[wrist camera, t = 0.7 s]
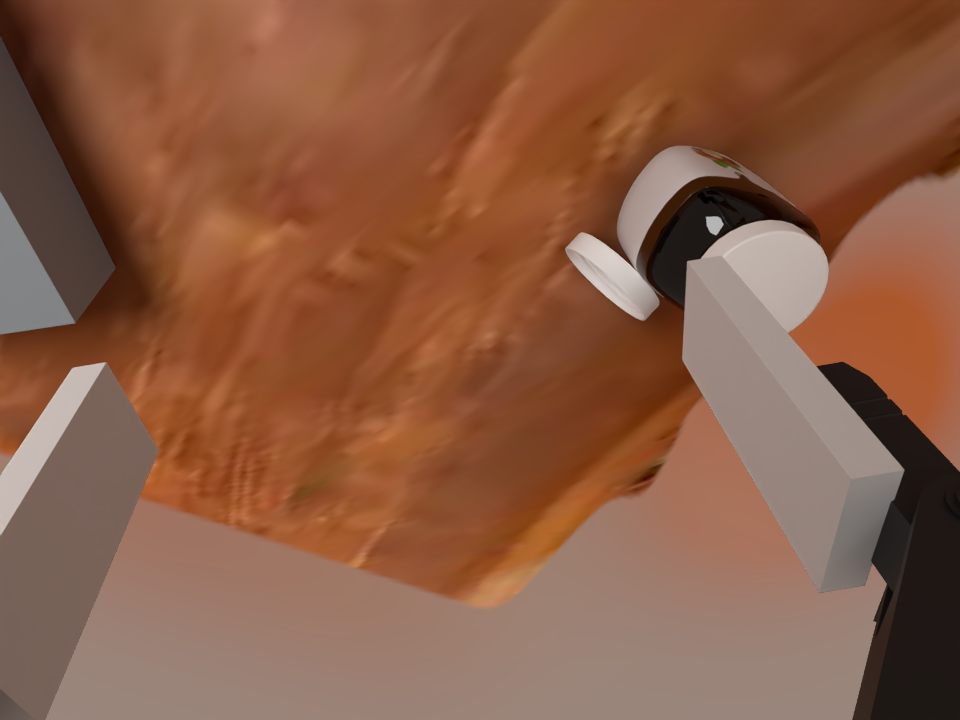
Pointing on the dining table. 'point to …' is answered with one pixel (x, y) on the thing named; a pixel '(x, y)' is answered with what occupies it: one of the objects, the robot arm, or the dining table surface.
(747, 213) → the spread jar
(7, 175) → the low overhang
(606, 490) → the dining table surface
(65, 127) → the dining table surface
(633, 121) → the dining table surface
